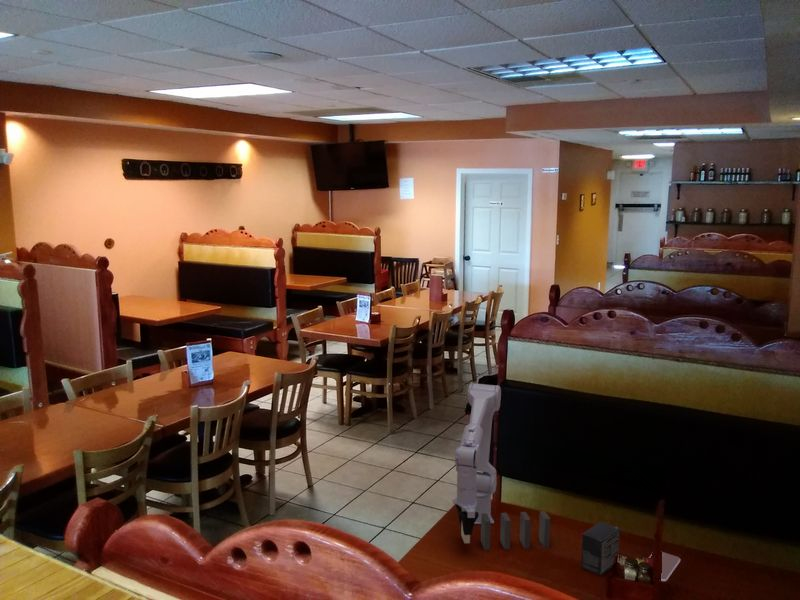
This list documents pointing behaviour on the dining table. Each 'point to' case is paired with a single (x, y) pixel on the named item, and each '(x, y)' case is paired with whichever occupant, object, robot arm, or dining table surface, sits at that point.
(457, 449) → the robot arm
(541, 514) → the grey domino
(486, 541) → the grey domino
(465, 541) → the ivory domino
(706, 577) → the dining table surface
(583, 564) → the small box
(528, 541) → the grey domino
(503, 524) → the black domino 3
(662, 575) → the mobile phone
